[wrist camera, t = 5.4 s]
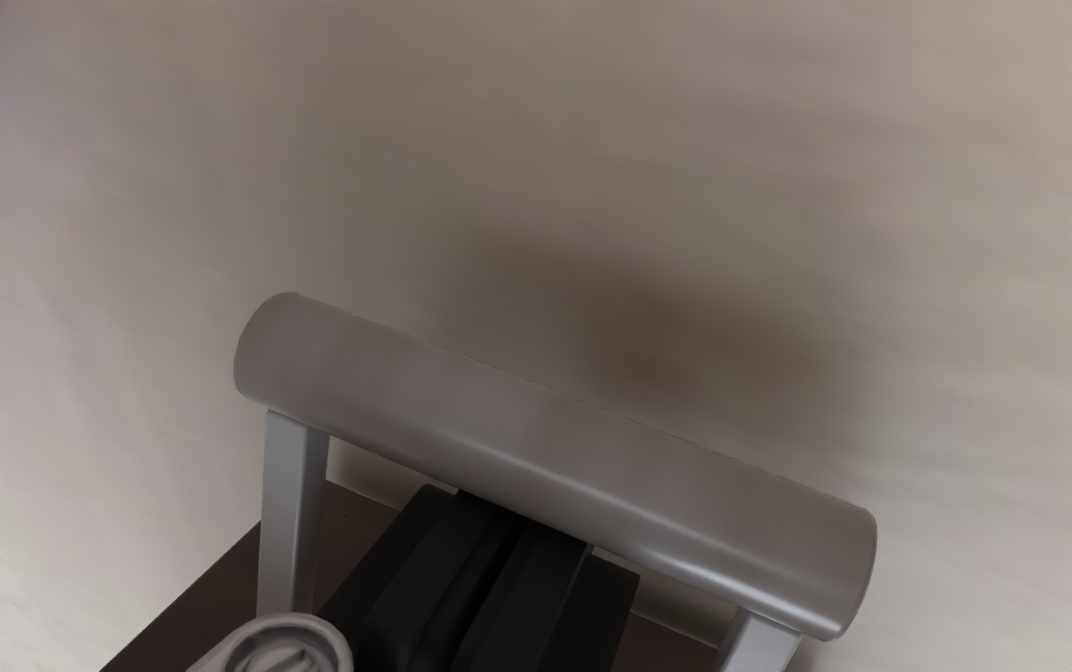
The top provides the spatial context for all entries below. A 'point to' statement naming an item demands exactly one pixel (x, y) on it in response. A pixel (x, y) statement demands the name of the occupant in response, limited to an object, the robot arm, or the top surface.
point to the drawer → (508, 496)
